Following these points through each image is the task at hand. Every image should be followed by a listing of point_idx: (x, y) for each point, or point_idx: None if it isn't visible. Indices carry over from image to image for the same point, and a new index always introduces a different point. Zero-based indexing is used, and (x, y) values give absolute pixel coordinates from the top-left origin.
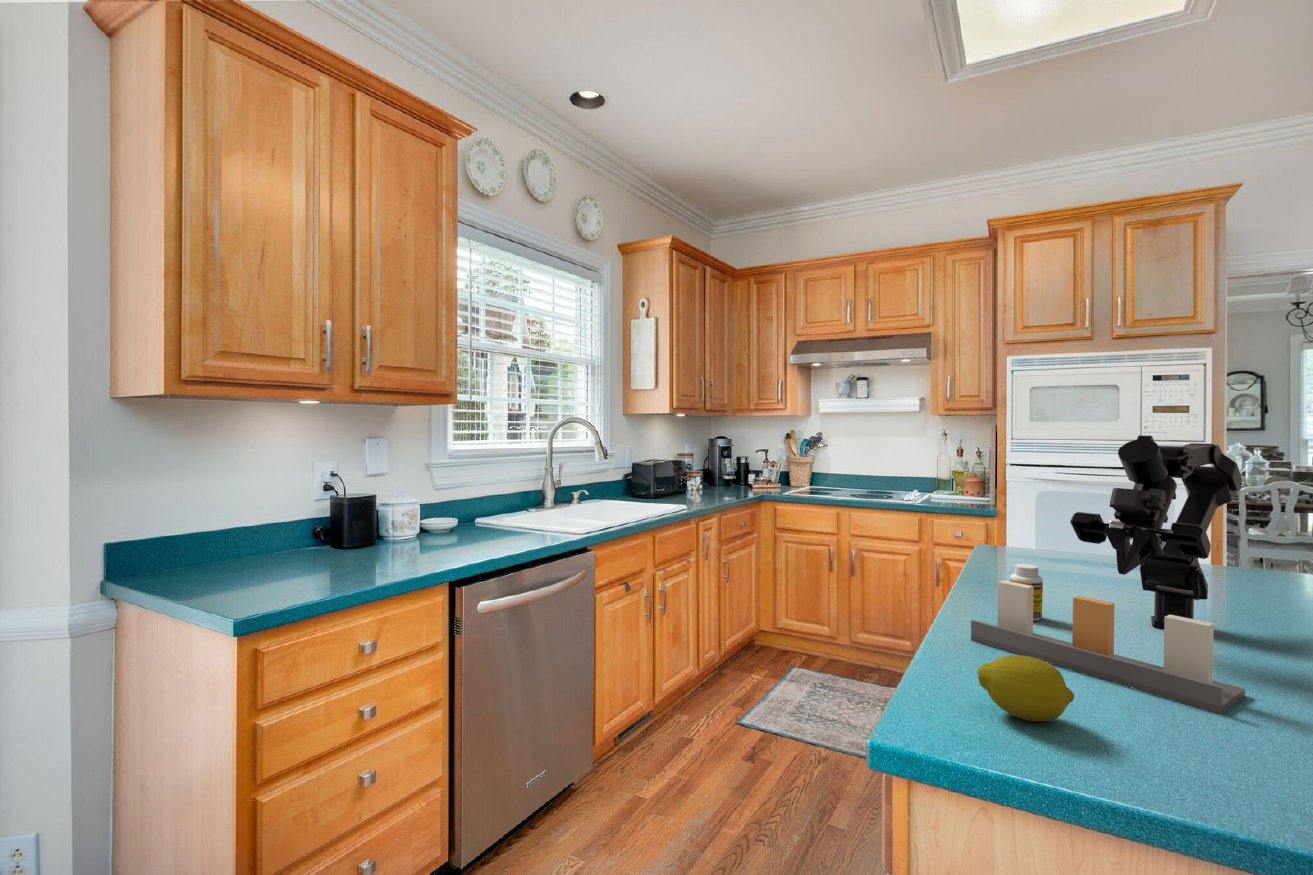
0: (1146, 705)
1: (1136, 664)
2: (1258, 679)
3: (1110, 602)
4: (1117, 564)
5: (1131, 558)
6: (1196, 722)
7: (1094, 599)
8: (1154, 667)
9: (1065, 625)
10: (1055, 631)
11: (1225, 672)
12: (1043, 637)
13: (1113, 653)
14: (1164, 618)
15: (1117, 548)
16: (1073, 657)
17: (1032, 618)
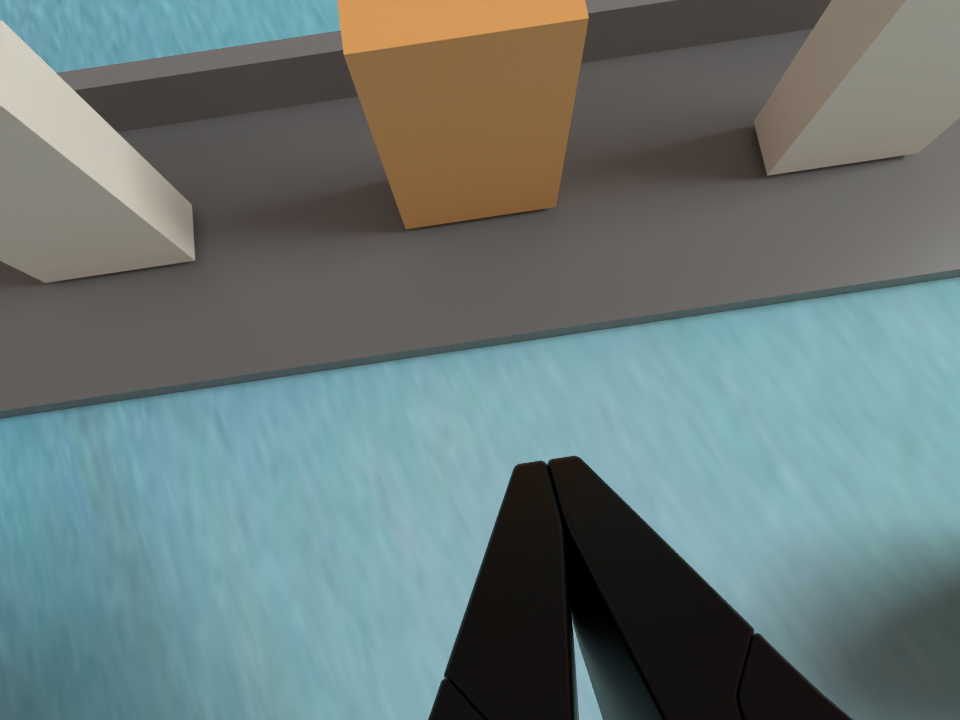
0: (170, 10)
1: (217, 56)
2: (20, 711)
3: (365, 42)
4: (615, 496)
5: (473, 606)
6: (26, 21)
7: (469, 20)
8: (284, 332)
9: (947, 695)
10: (881, 520)
11: (135, 671)
12: (773, 264)
13: (400, 213)
14: (9, 28)
15: (783, 688)
16: None
17: (811, 108)
